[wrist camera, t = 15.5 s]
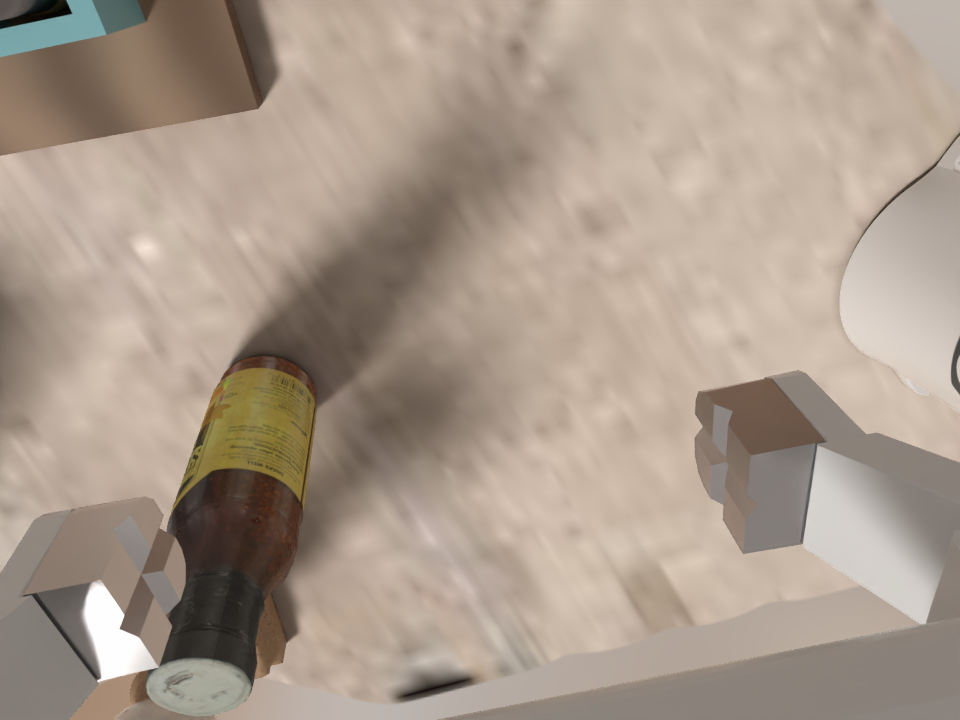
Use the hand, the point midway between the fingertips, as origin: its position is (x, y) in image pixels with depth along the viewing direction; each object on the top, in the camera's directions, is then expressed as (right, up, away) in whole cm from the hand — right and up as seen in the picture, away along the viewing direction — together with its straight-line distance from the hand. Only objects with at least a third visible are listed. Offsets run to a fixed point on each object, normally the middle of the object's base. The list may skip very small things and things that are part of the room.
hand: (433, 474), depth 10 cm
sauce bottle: (-13, 0, +33) cm, 35 cm away
